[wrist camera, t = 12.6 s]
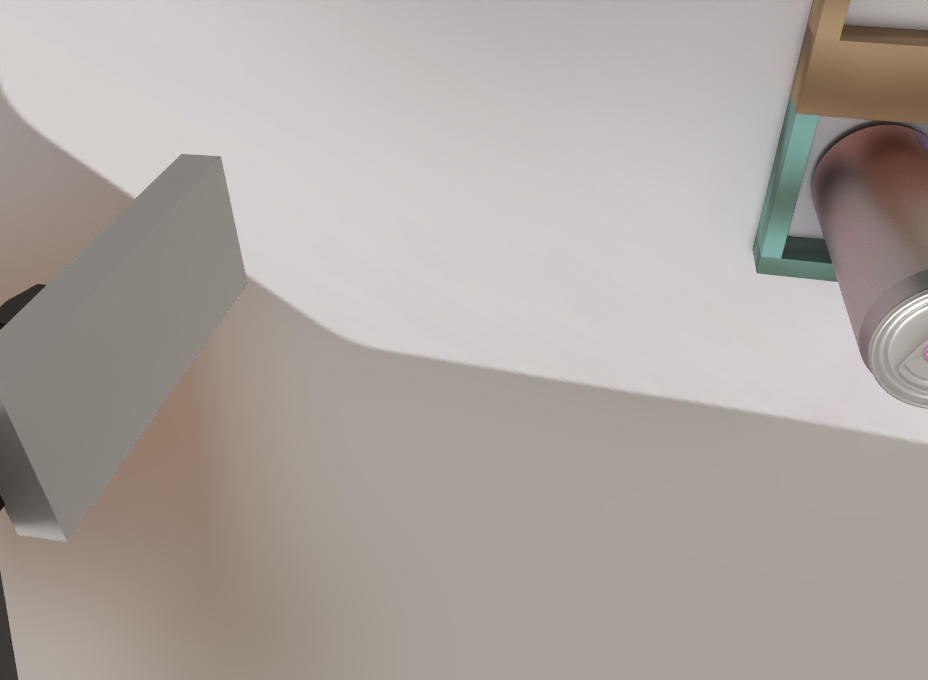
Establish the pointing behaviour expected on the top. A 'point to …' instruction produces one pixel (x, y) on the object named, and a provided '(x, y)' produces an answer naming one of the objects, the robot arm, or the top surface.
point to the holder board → (836, 95)
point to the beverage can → (881, 249)
